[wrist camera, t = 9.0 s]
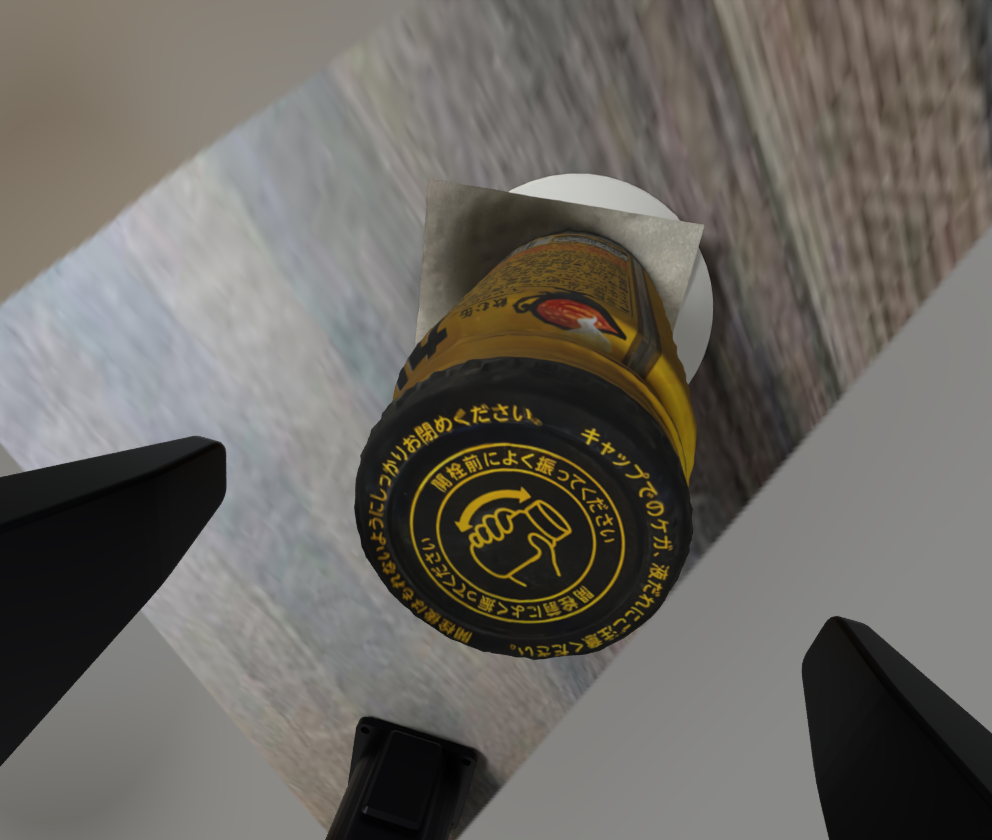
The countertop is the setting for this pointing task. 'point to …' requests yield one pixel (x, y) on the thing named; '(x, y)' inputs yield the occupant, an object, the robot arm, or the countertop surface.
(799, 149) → the countertop surface
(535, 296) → the condiment
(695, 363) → the coaster
